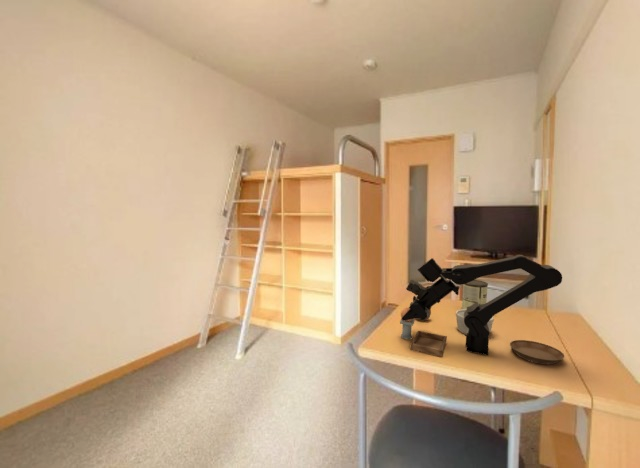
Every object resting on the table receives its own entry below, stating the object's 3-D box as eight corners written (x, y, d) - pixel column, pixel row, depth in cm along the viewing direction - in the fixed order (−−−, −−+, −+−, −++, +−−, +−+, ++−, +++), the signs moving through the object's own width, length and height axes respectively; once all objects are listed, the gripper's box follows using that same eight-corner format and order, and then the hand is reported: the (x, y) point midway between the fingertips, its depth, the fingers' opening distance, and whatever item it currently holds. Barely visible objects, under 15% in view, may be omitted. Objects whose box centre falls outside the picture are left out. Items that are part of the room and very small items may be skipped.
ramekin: (453, 334, 121) (454, 316, 120) (456, 323, 132) (457, 306, 132) (492, 341, 115) (494, 323, 114) (492, 329, 126) (493, 312, 125)
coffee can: (462, 306, 154) (464, 278, 152) (486, 310, 148) (488, 281, 147) (459, 312, 145) (461, 282, 144) (484, 317, 140) (487, 286, 138)
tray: (446, 342, 113) (446, 336, 113) (441, 357, 102) (442, 350, 101) (417, 336, 118) (418, 330, 118) (410, 349, 106) (410, 343, 106)
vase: (427, 323, 131) (428, 303, 130) (411, 319, 135) (412, 299, 134) (432, 319, 136) (433, 299, 135) (416, 315, 140) (417, 296, 139)
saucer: (513, 343, 114) (513, 335, 114) (564, 356, 105) (565, 348, 105) (505, 357, 103) (506, 349, 103) (562, 373, 94) (563, 365, 93)
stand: (413, 335, 118) (414, 319, 117) (412, 340, 114) (413, 323, 113) (401, 333, 120) (402, 317, 119) (399, 338, 116) (400, 321, 115)
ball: (415, 320, 117) (416, 307, 117) (412, 324, 113) (413, 311, 112) (402, 317, 120) (402, 305, 119) (398, 322, 115) (399, 308, 115)
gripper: (423, 269, 121) (393, 293, 127) (418, 279, 104) (383, 307, 110) (444, 292, 119) (412, 315, 125) (442, 306, 102) (405, 333, 107)
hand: (403, 317), depth 117 cm, fingers closed on ball, 5 cm apart
